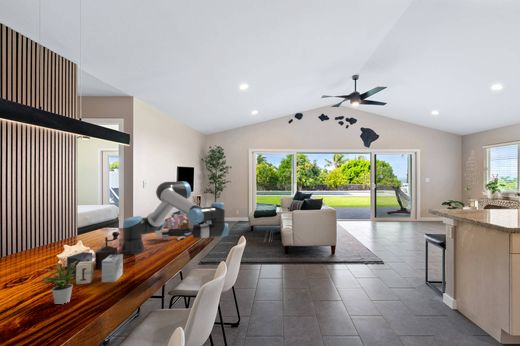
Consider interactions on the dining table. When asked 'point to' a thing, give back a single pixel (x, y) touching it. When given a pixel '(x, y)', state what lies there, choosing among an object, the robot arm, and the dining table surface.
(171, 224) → the flower
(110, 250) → the manual coffee grinder
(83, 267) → the beige block
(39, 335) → the dining table surface
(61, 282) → the house plant
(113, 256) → the light bulb box
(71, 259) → the small box
